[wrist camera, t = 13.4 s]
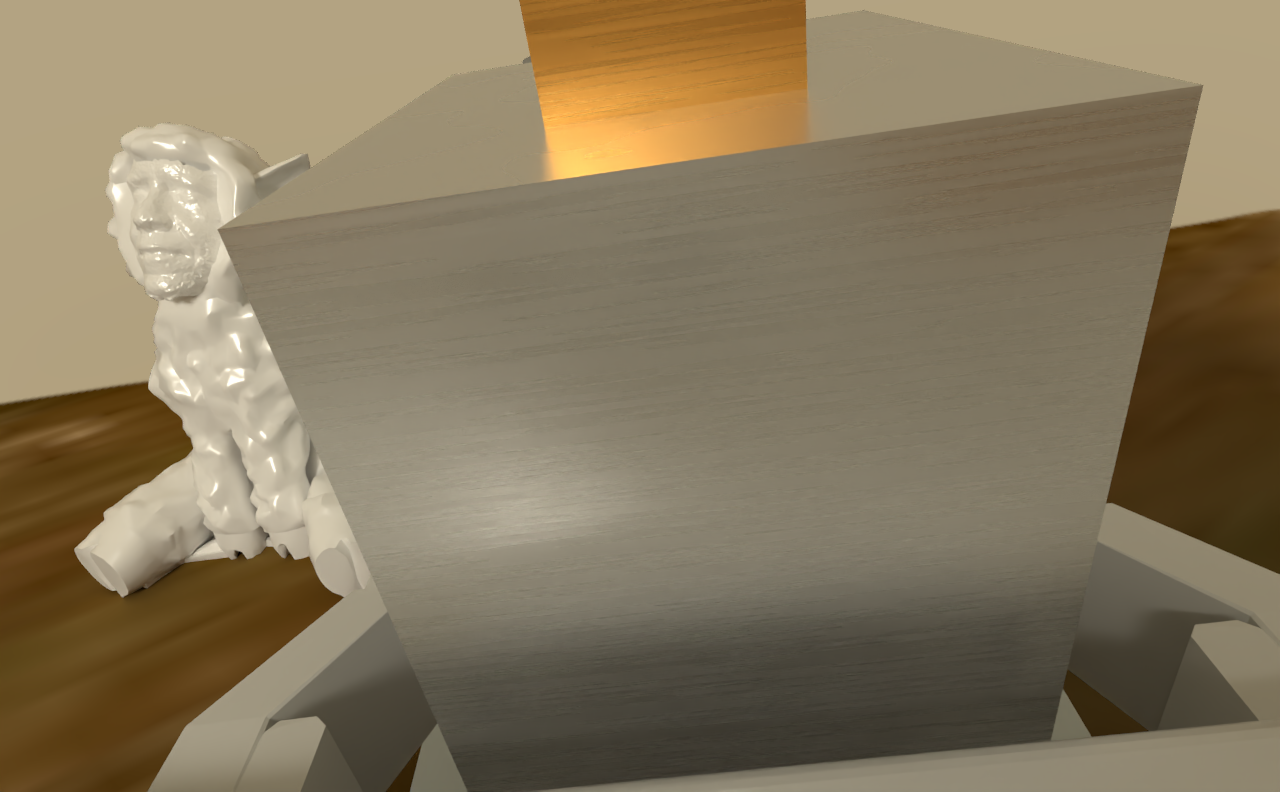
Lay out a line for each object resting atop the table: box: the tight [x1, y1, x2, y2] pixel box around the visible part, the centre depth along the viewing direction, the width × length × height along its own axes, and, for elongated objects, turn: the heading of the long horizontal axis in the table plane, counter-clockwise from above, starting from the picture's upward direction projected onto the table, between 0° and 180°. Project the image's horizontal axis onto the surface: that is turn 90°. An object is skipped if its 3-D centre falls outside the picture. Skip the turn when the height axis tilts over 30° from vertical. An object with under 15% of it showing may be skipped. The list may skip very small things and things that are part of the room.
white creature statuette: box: [74, 123, 371, 597], centre depth 21 cm, size 10×9×12 cm
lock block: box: [217, 0, 1203, 792], centre depth 9 cm, size 5×6×14 cm
